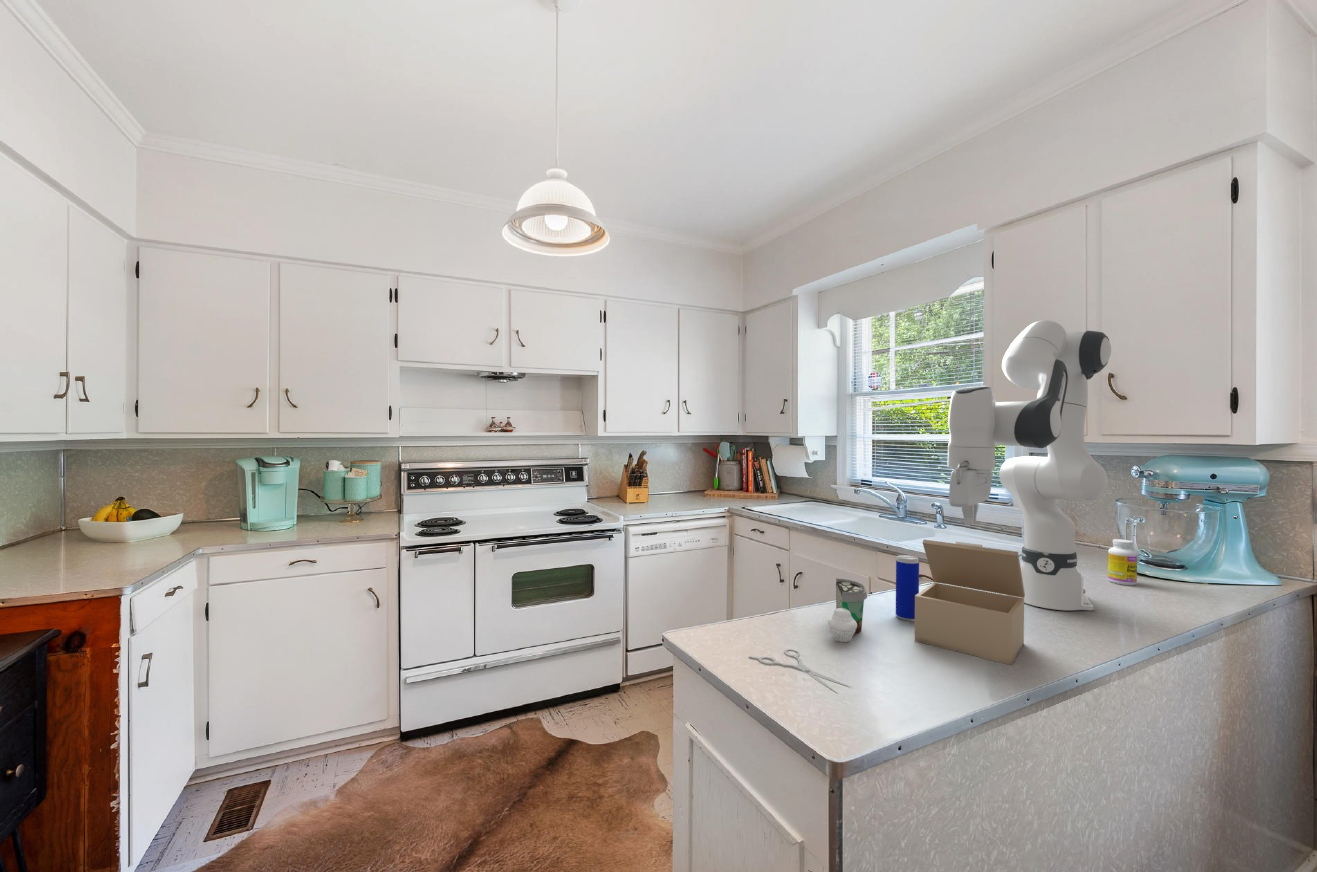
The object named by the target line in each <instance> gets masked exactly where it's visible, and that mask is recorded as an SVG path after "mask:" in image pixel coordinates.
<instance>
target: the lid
mask: <svg viewBox="0 0 1317 872" xmlns="http://www.w3.org/2000/svg"><path fill="white" fill-rule="evenodd" d="M922 545H923V546H922V547H923V549H924V553H925V556H926V559H927V563H928V567H929V570H930V573H931V578H932V580H933V583H934V582H935V583H940V584H946V585H951V586H957V587H963V588H968V589H974V590H979V591H985V592H991V593H996V594H1002V595H1007V596H1008V595H1010V596H1016V597H1021V598H1024V597H1025V592H1024V586H1023V579H1022V573H1021V567H1020V564H1021V563H1020V557H1019V556H1020V554H1019V552H1018V551H1014V550H1007V549H999V548H991V547H983V545H982V544H978V543H977V544H976V543H969V542H963V541H955V542H953V543H952V542H945V541H937V540H931V539H930V540H929V539H923V540H922Z"/></svg>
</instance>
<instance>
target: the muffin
mask: <svg viewBox="0 0 1317 872" xmlns="http://www.w3.org/2000/svg"><path fill="white" fill-rule="evenodd" d="M827 625H828V628H829V631H830V632H831V635H832V636H833V638H834V640H835V641H837V642H840V643H848V642H850V641H851V639H852V638H853V636H855V634H854V633H855V631H856V628H857V623H856V621H855V620H854V619H853V618H852V616H851V613H850V611H849V610H847V609H845V608H838V609H834V610H833V614H832V615H831V616H830V617H829V618H828V619H827Z"/></svg>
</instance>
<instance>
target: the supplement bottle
mask: <svg viewBox="0 0 1317 872" xmlns="http://www.w3.org/2000/svg"><path fill="white" fill-rule="evenodd" d="M1112 545H1113V546H1112V547H1110V548H1109V549H1108V552H1107V553H1108V557H1107V559H1108V563H1107V564H1108V565H1107V580H1108V581H1109V582H1110V583H1112V584H1117V585H1120V584H1121V585H1120V586H1135V585H1137V584H1138V583H1137V582H1138V580H1137V579H1138V578H1137V577H1138V552H1137V551H1136V550H1134V549H1133V547H1134V541H1133V540H1130V539H1129V540H1128V539H1119V538H1114V539H1112Z"/></svg>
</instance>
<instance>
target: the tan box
mask: <svg viewBox="0 0 1317 872" xmlns="http://www.w3.org/2000/svg"><path fill="white" fill-rule="evenodd" d="M1024 635H1025V603H1024V598H1019V597H1013V596H1008V595H1004V594H999V593H993V592H988V591H982V590H976V589H971V588H965V587H959V586H954V585H948V584H943V583H937V582H934V581H933V582H932V583H931V584H929V585H928V586H926V587H925V588H924V589H923V590H921V591H919V593H918V594H917V595H915V621H914V642H917V643H921V644H926V645H929V646H934V647H937V648H941V649H942V648H943V649H946V650H950V651H953V652H957V651H959V652H958V653H961V652H962V653H961V654H965V653H966V654H965V655H969V654H970V655H969V656H974V657H977V658H982V659H986V660H990V661H994V662H996V663H997V662H998V663H1002V664H1006V665H1010V666H1012V665H1013V663H1014V661H1015V660H1016V659H1017V656H1018V655H1019V653H1020V651H1021V649H1022V648H1023V646H1024V645H1025V644H1024V643H1025V641H1024V640H1025V636H1024Z"/></svg>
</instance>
